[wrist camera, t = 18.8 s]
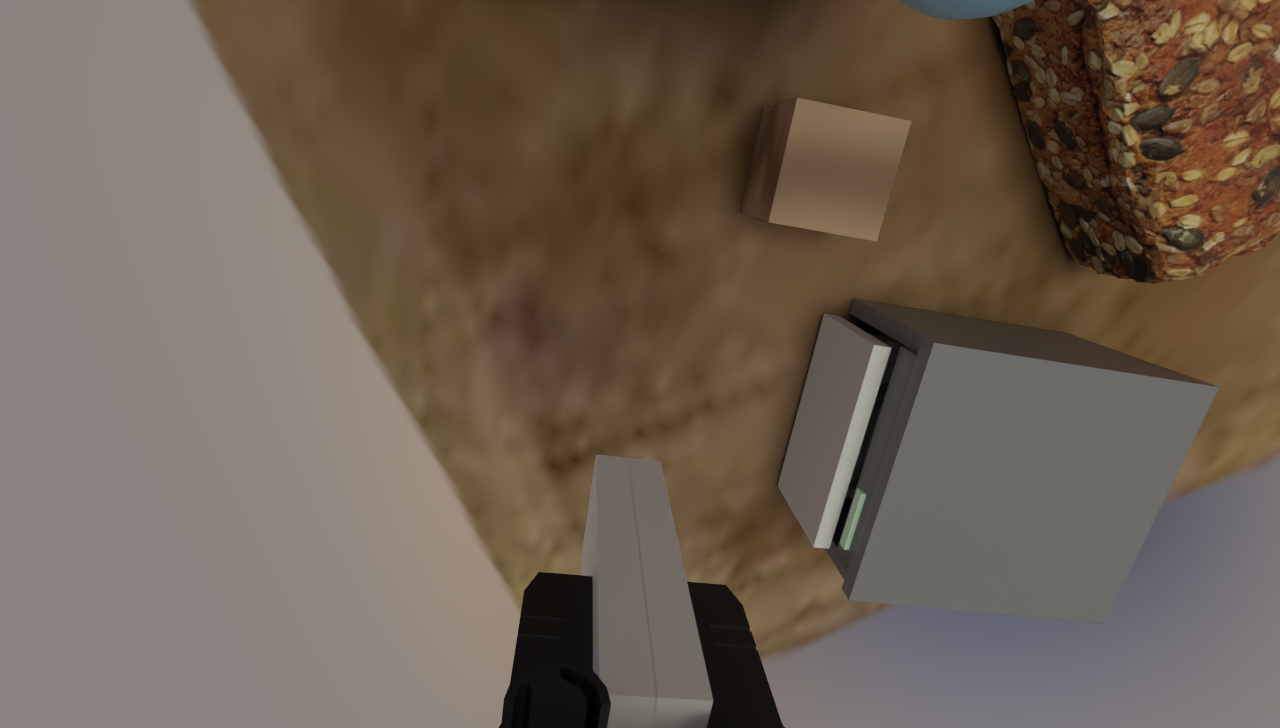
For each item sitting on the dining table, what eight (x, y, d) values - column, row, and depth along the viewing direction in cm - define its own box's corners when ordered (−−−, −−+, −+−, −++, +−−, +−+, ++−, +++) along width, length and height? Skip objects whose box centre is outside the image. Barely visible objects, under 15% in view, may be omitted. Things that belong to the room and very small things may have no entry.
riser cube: (763, 108, 35) (797, 97, 30) (860, 127, 36) (911, 121, 30) (740, 213, 37) (768, 222, 31) (833, 229, 38) (877, 241, 32)
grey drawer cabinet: (841, 296, 39) (928, 341, 29) (1067, 333, 41) (1219, 387, 31) (785, 500, 44) (843, 599, 34) (991, 523, 46) (1103, 624, 36)
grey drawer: (824, 313, 39) (874, 345, 32) (1041, 347, 41) (1131, 384, 34) (777, 485, 43) (813, 547, 36) (979, 509, 45) (1049, 571, 38)
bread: (965, -12, 34) (1109, -78, 25) (1142, -117, 33) (1362, -228, 24) (1057, 273, 40) (1202, 307, 31) (1210, 190, 39) (1408, 199, 30)
